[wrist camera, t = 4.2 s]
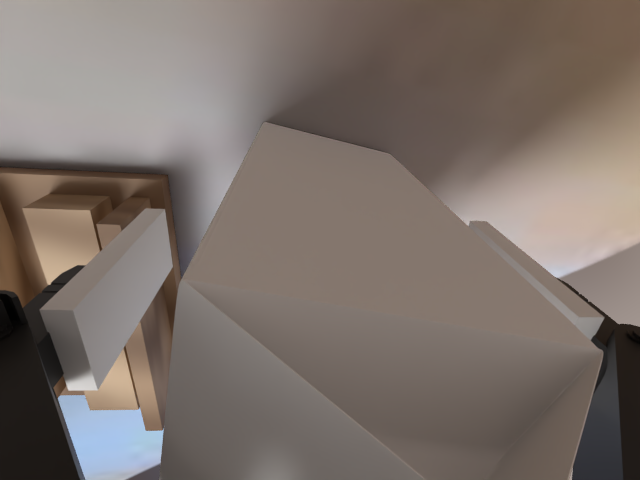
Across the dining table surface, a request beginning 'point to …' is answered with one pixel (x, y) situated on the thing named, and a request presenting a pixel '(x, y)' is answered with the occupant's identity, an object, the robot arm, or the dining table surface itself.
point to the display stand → (79, 249)
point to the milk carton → (363, 335)
